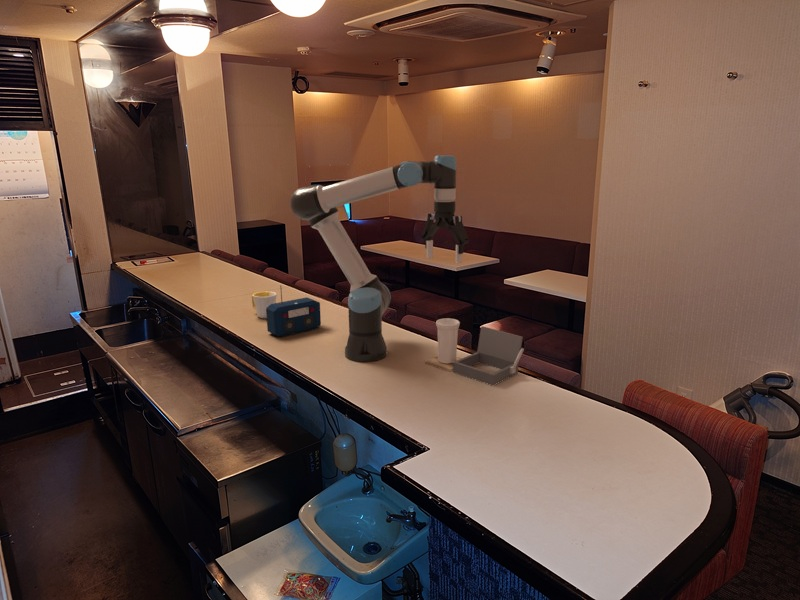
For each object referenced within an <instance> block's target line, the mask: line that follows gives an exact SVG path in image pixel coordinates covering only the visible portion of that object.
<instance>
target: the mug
mask: <svg viewBox="0 0 800 600" xmlns="http://www.w3.org/2000/svg"><path fill="white" fill-rule="evenodd" d="M276 301H277V292H274V291H257V292H254V293H253V294H252V296H251V304H252V309H254V310H255V313H256V315H257V316H258V318H260V319H267V315H266V308H267V307H268V306H269V305H271V304H274V303H277V302H276Z"/></svg>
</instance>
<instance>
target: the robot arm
mask: <svg viewBox="0 0 800 600" xmlns="http://www.w3.org/2000/svg"><path fill="white" fill-rule="evenodd" d="M418 184H434V185H433V189H434V191H433V193H434V194H433V199H434V200H435V201H434V202H433V212H431V213H430V212H429V213H428V214H427V219H426V221H425V225H424V228H423V229H422V232H421V235H420V238H421V239H424V241H425V242H424V243H425V246H424V247H425V250H426V254H425V255H426V257H425V258H426V259H432V258H434V256H433V255H434V246H433V245H434V240H433V238H434V236H435V234H436V233H437V232H438V230H439V229H440V228H445V229H447V230H449V231H450V234H451V235H452V237H453V239H454V241H455V242H456V244H455V257H454V258H455V261H454V263H455V264H460V263H461V264H462V263H463V254H464V252H465V251H464V250H465V249H464V248H465V244H468V243H469V242H470V240H469V238H468V234H467V231H466V229H465V226H464V224H463V217H462V215H456V216H455V212H456V201H455V200H456V199H457V198H456V193H457V191H456V190H457V187H456V186H457V157H455V155H450V154H449V155H435V156H434V158H433V160H431V161H422V160H421V161H419V160H415V161H414V160H412V161H411V160H406V161H402V162H401V163H400V164H398V165H395V166H390V167H387V168H384V169H381V170H378V171H374V172H370V173H368V174H363V175H360V176H357V177H353V178H350V179H346V180H343V181H339V182H336V183H333V184H329V185H326V186H324V185H321V184H312V185H311V184H310V185H308V186H303V187H299V188H298V189H296V190H295V191H294V192H293V193H292V194H291V197H290V201H289V207H290V210H291V213H293V214H294V216H295V217H296V218H298V219H300V220H301V221H302V220H303V221H307V222H308V223H309V226H310V227H311V228H312V229H314V230H317V231H318V233H319V234H320V236H321V237H322V239H323V241H324V243H325V244H326V247H328V250H329V251H330V253H331V254H332V256H333V257H334V259H335V261H336V262H337V265H338V266H339V267H340V269H341V271H342V272H343V274H344V275H345V278H346V279H347V281H348V282H349V284H350V290H349V292H350V293H349V294H348V298H347V299H348V300H347V306H348V333H349V334H348V337H347V340H346V341H347V342H346V346H345V348H344V355H345V358H346V359H348V360H351V361H355V362H362V363H363V362H364V363H365V362H367V363H368V362H375V361H379V360H382V359H384V358H385V357H386V356H387V355H388V348H387V345H386V342H385V339H384V335H383V333H382V332H383V329H382V328H383V327H382V325H383V324H382V319H383V318H382V316H383V315H384V313H385V312H386V311H387V310H388V309H389V307H390V304H391V299H392V298H391V297H392V296H391V292H390V289H389V288H388V287H387V286H386V285H385V284H384V283H382V282H381V281H380V279H379V277H378V276H377V275H376V274H373V273H371V272H370V270H369V269H368V266H367V265H366V262H364V260H363V258H362V257H361V255H360V253H359V251H358V249H357V248H356V247H355V244H354V243H353V242H352V240H351V238H350V236H349V235H348V232H347V231H346V229H345V227H344V226H343V224H342V223H341V221H340V219H339V215H340V211H339V209H338V207H341V206H345V205H348V204H351V203H355V202H358V201H362V200H365V199H369V198H373V197H377V196H381V195H383V194H387V193H391V192H393V191H397V190H402V189H405V188H410V187H413V186H417V185H418Z"/></svg>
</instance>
